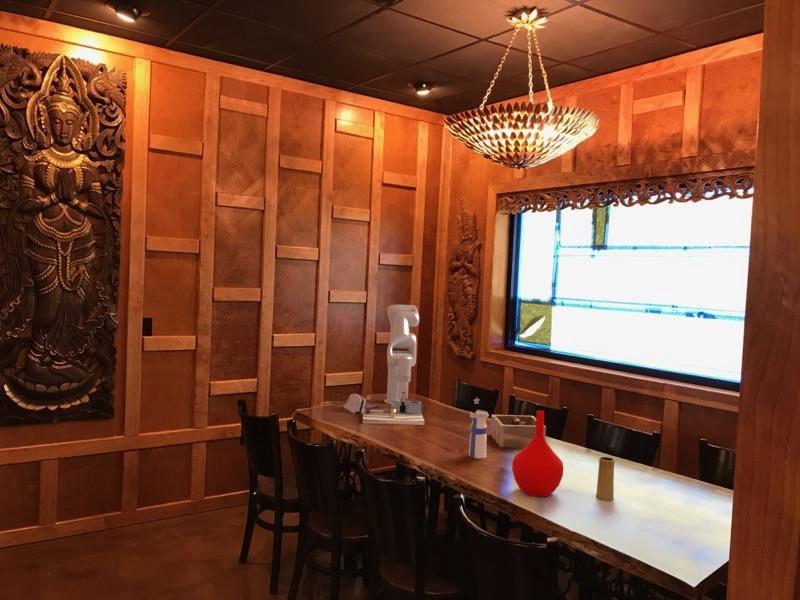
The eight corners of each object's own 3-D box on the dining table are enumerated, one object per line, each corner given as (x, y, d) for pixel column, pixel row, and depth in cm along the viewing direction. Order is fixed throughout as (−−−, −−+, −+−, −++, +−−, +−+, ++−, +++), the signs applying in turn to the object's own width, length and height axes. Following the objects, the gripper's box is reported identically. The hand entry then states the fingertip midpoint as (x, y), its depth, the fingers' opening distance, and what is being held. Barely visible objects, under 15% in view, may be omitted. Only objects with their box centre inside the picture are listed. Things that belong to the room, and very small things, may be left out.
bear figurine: (512, 446, 287) (514, 420, 287) (501, 437, 302) (502, 413, 302) (540, 445, 290) (541, 420, 290) (527, 437, 305) (528, 413, 304)
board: (363, 413, 341) (363, 409, 341) (420, 414, 343) (420, 411, 343) (362, 423, 318) (362, 419, 318) (424, 424, 320) (424, 421, 320)
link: (383, 413, 333) (383, 402, 333) (383, 410, 340) (383, 400, 340) (421, 414, 335) (421, 403, 334) (419, 411, 342) (420, 401, 341)
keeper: (363, 416, 334) (363, 406, 333) (374, 414, 340) (374, 404, 340) (367, 417, 331) (368, 408, 331) (379, 415, 338) (379, 405, 338)
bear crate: (490, 434, 306) (491, 414, 306) (532, 435, 307) (533, 415, 307) (500, 447, 284) (501, 425, 284) (544, 448, 285) (545, 426, 285)
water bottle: (463, 455, 269) (465, 398, 268) (476, 452, 274) (479, 396, 273) (477, 459, 262) (479, 401, 262) (490, 456, 268) (493, 399, 267)
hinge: (342, 407, 354) (348, 390, 356) (349, 409, 356) (355, 393, 358) (354, 413, 340) (360, 396, 341) (361, 416, 342) (367, 398, 343)
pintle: (390, 420, 327) (391, 408, 327) (395, 420, 328) (395, 408, 327) (390, 421, 325) (391, 409, 325) (395, 421, 325) (395, 409, 325)
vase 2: (616, 500, 220) (618, 461, 219) (600, 500, 219) (602, 461, 219) (609, 494, 226) (611, 456, 225) (593, 494, 225) (595, 456, 225)
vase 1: (538, 505, 212) (543, 419, 211) (500, 488, 227) (504, 408, 226) (572, 495, 223) (577, 414, 222) (534, 480, 238) (538, 404, 237)
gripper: (396, 375, 345) (394, 408, 346) (397, 380, 328) (396, 414, 329) (409, 376, 345) (408, 408, 346) (411, 381, 329) (410, 415, 329)
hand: (402, 411), depth 337 cm, fingers closed on link, 4 cm apart
